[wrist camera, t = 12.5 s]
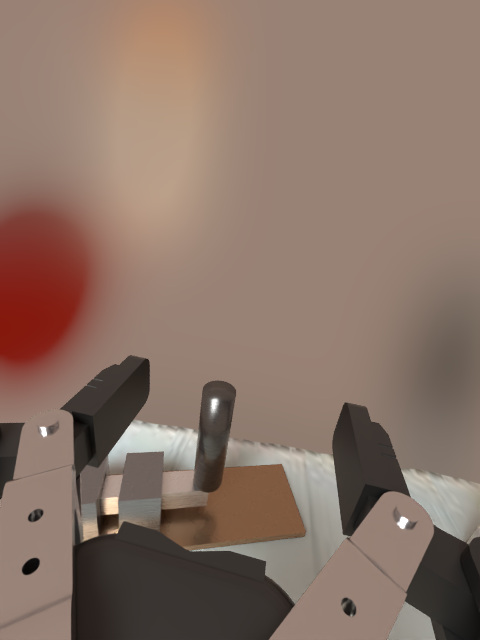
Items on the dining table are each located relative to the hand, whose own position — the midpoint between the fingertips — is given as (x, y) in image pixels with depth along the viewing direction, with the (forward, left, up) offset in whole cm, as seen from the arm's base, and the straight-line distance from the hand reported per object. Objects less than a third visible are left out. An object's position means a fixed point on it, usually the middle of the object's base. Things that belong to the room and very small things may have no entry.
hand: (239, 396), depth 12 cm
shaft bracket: (+1, -14, -27) cm, 31 cm away
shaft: (+5, -14, -25) cm, 29 cm away
